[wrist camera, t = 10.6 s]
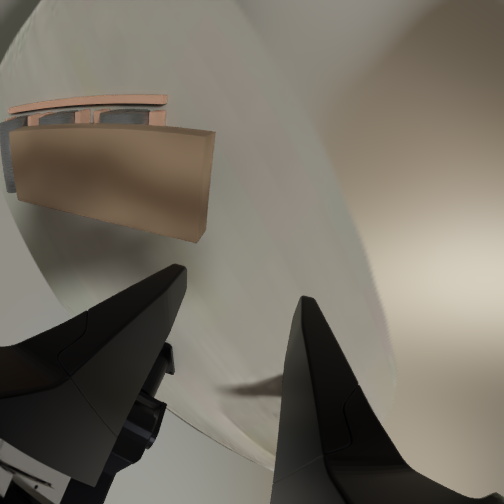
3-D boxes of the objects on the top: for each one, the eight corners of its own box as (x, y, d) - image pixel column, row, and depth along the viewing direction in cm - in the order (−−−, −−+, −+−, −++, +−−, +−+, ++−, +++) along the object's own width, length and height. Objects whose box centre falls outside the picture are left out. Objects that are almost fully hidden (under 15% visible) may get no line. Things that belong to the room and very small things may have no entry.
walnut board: (205, 229, 17) (196, 243, 16) (30, 192, 18) (17, 200, 17) (215, 131, 14) (205, 136, 12) (23, 126, 15) (9, 131, 13)
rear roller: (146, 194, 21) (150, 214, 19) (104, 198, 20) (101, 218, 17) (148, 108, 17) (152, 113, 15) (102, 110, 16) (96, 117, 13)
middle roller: (87, 185, 21) (72, 202, 19) (56, 185, 21) (39, 202, 18) (84, 108, 17) (66, 115, 15) (51, 112, 17) (30, 120, 14)
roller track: (161, 215, 21) (154, 222, 20) (19, 186, 22) (12, 190, 21) (167, 95, 16) (158, 96, 15) (12, 107, 17) (4, 109, 16)
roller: (24, 177, 22) (1, 191, 19) (19, 116, 18) (-7, 125, 15) (41, 180, 21) (17, 194, 18) (36, 113, 17) (8, 123, 15)
